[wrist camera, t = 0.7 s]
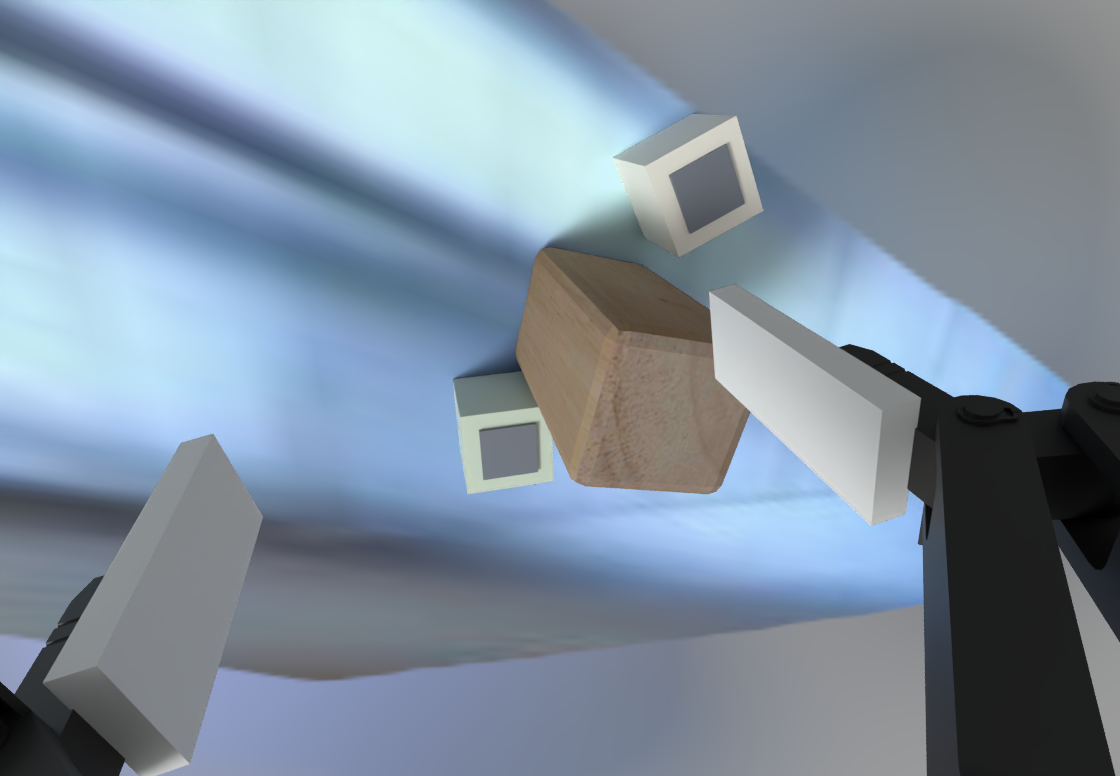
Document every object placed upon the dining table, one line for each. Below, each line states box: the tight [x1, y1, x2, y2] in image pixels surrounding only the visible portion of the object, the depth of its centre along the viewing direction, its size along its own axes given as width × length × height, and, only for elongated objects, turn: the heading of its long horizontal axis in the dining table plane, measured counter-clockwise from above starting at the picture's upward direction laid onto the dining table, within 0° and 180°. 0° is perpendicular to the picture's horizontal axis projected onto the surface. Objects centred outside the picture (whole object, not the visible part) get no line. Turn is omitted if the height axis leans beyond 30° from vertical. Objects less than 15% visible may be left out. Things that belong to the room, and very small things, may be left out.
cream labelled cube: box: [613, 114, 764, 258], centre depth 44 cm, size 7×7×7 cm
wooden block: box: [515, 247, 750, 494], centre depth 42 cm, size 10×10×20 cm
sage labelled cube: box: [453, 371, 553, 494], centre depth 50 cm, size 7×7×7 cm
